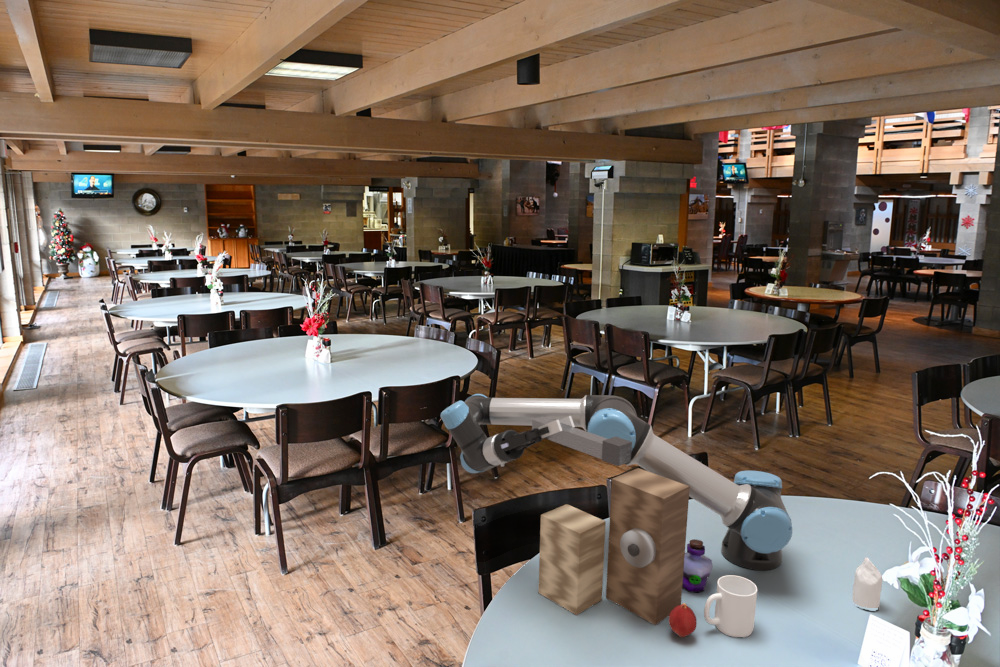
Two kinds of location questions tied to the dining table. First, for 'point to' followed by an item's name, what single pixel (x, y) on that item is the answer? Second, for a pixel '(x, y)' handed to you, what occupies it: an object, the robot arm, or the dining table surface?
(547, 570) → the oak block
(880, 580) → the beige pointed piece
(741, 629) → the cup
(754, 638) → the dining table surface
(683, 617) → the onion
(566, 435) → the grey long bar
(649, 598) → the post
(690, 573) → the potion bottle
